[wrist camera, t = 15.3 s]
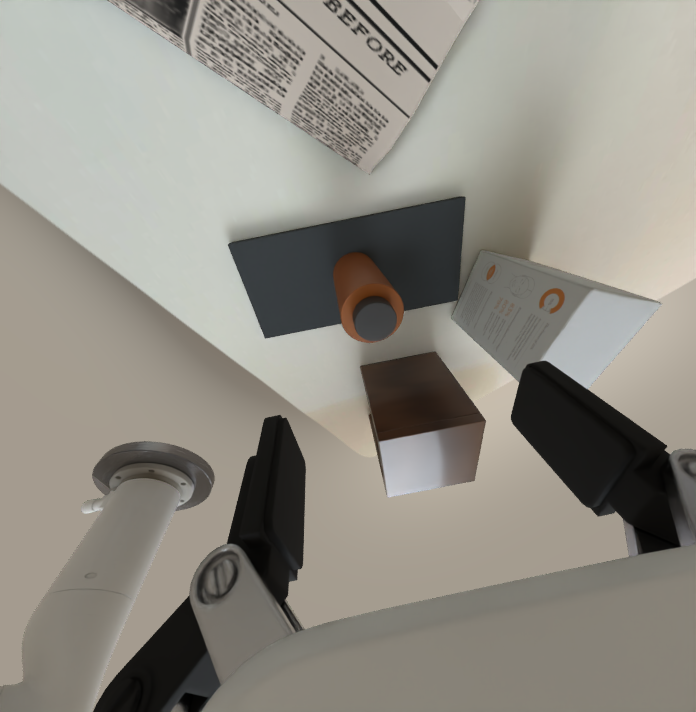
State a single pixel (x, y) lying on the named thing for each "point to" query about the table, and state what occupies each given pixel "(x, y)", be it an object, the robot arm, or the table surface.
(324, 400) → the table surface
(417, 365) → the bronze lidded cube
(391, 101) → the newspaper
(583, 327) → the small box
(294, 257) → the mat
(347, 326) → the spice bottle
